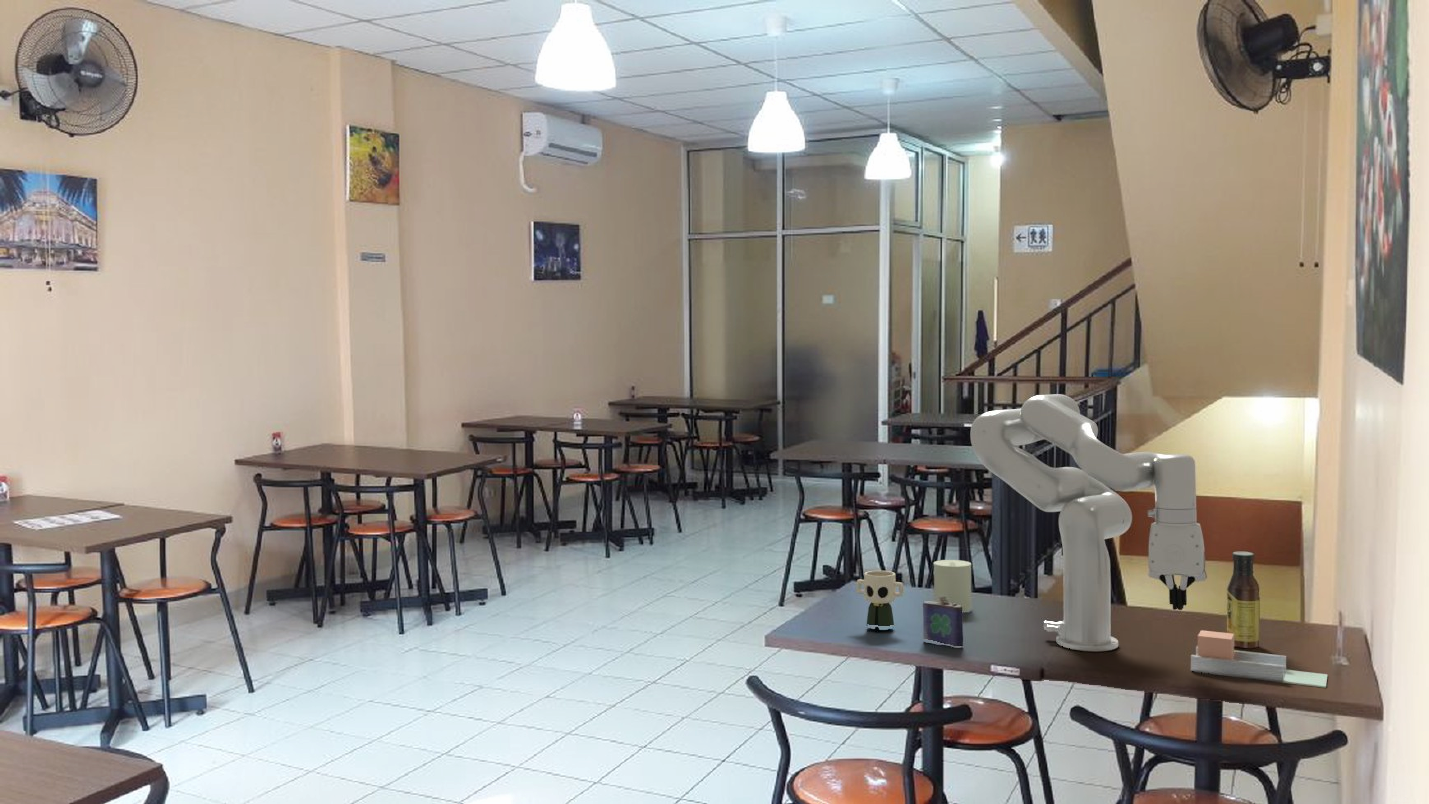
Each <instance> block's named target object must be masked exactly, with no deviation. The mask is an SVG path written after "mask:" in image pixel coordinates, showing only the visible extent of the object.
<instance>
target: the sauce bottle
mask: <svg viewBox="0 0 1429 804" xmlns="http://www.w3.org/2000/svg"><path fill="white" fill-rule="evenodd" d="M1254 559H1255V554H1254V553H1253V552H1249V551H1242V550H1241V551H1234V552H1232V560H1233V561H1232V562H1233V564H1232V565H1233V570H1232V575H1231V578H1230V581H1229V583H1228V585H1227V588H1226V602H1227V603H1226V633H1232V634H1234V648H1240V649H1241V648H1242V649H1249V650H1250V649H1255V648H1258V647H1259V646H1260V639H1261V638H1260V636H1261V635H1260V634H1261V616H1260V615H1261V614H1260V613H1261V601H1260V600H1261V599H1260V585H1259V582H1258V580H1257V579H1256V578H1255V576H1254Z"/></svg>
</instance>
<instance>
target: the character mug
mask: <svg viewBox="0 0 1429 804" xmlns="http://www.w3.org/2000/svg"><path fill="white" fill-rule="evenodd" d="M896 579H897V578H896V573H895V572H893V571H890V570H870V571H865V572H864V576H863V579H861V578H860V579H857V581H856V591H857V593H858V594H859V595H864V596H863V597H864V599H865V601H866V602H868V603H869V606H868V610H867V617H866V618H867V619H866V625H867V624H869V625H878V626H890V625H894V626H895V622H894V612H893V607H892V605H891V603H892V602H895V601H896V597H897V598H898V597H899V598H901V597H904V584H903V582H900V581H896ZM862 585H863V587H864V588H863V589H862ZM896 587H898V592H897V591H896V590H897V589H896Z"/></svg>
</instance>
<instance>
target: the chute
mask: <svg viewBox="0 0 1429 804" xmlns="http://www.w3.org/2000/svg"><path fill="white" fill-rule="evenodd" d="M1286 670H1287V655H1282V654H1272V653H1271V654H1270V653H1263V652H1255V651H1246V650H1236V649H1234V659H1225V658H1216V657H1207V656H1199V655H1198V645H1196V646H1195V654H1191V655H1190V672H1192V671H1194V672H1193V673H1200V674H1208V673H1209V674H1211V675H1216V676H1217V675H1218V676H1225V677H1235V678H1240V679H1241V678H1242V679H1250V680H1259V681H1266V682H1267V681H1268V682H1274V683H1283V680H1284V676H1285V672H1286ZM1201 672H1202V673H1201ZM1209 674H1208V675H1209ZM1283 684H1284V683H1283Z"/></svg>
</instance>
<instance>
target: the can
mask: <svg viewBox="0 0 1429 804" xmlns="http://www.w3.org/2000/svg"><path fill="white" fill-rule="evenodd" d="M933 588H934V589H933V592H934V594H933V595H934V597H933V598H934V600H933V602H940V599H939V597H941V596H942V595H943V596H944V595H947V596H946V598H945V599H946V600H948V601H949V602H951V603H949V604H954V603H956V604H957V605H961V606H962V611H967V610H970V609H971V608H972V607H973V606H972V563H971V562H970V561H966V560H961V559H959V560H958V559H940V560H936V561H934V562H933ZM972 609H973V608H972Z"/></svg>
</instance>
